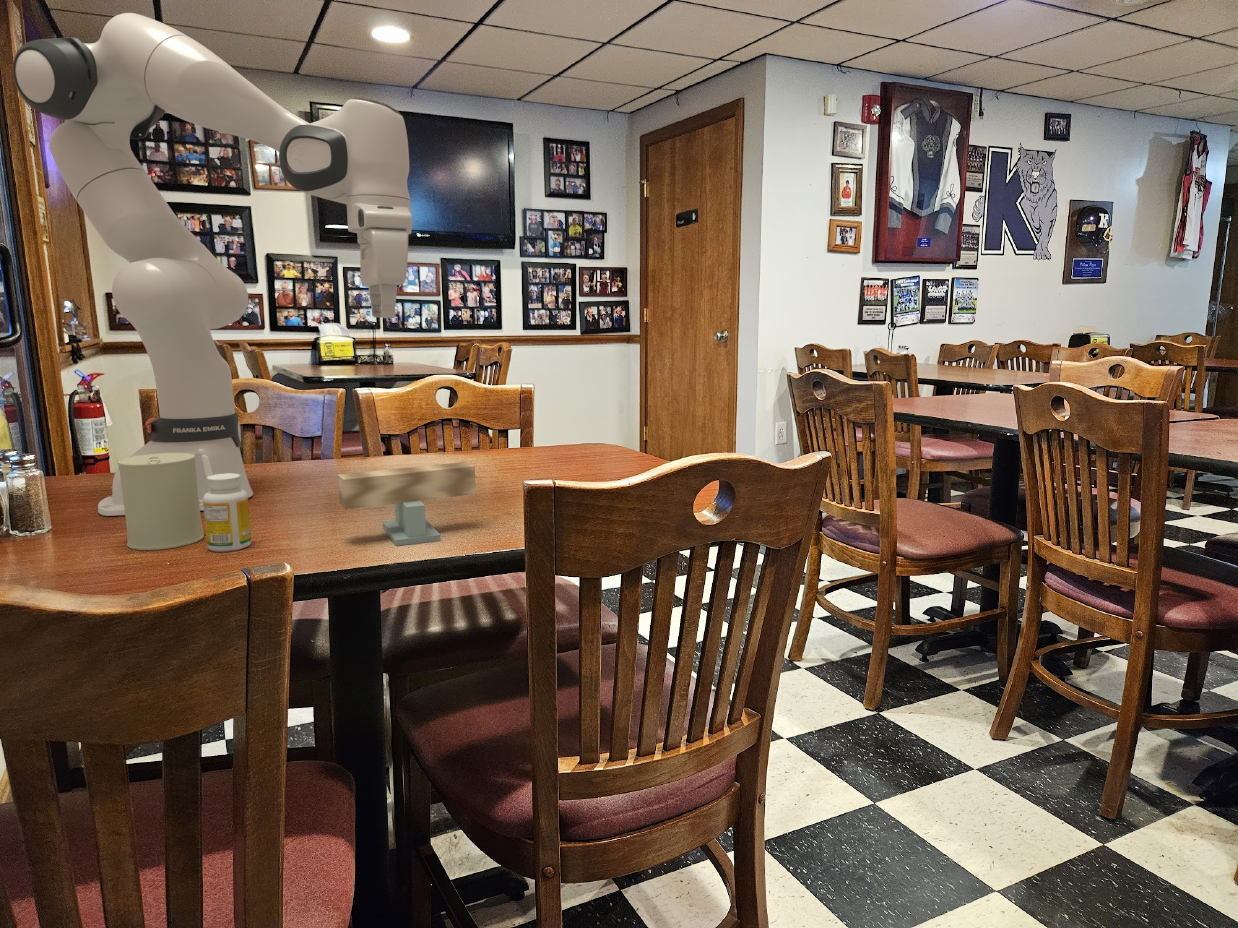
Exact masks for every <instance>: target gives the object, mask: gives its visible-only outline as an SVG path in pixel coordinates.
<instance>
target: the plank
mask: <svg viewBox="0 0 1238 928" xmlns="http://www.w3.org/2000/svg"><path fill="white" fill-rule="evenodd" d="M337 485H338V498H339V504H340V505H341V506H342V507H343V509H344V510H352V509H353V510H354V509H359V508H360V509H361V508H369V507H370V508H371V507H377V506H383V505H384V506H385V505H393V504H394V505H395V503H403V502H412V501H427V500H436V499H443V498H451V497H452V498H453V497H459V496H468V495H476V494H477V489H476V488H477V487H476V485H477V484H476V466H475V465H473V464H471V463H469V462H466V461H462V462H453V463H442V464H433V465H432V464H431V465H424V466H423V465H421V466H413V467H412V466H411V467H402V468H391V469H381V470H370V471H362V472H361V471H360V472H352V473H341V474H340V473H338V474H337Z"/></svg>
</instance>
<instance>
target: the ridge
mask: <svg viewBox="0 0 1238 928" xmlns="http://www.w3.org/2000/svg"><path fill="white" fill-rule="evenodd" d="M394 513H395V514H394V516H395V517H394V518H395V519H391V520H383V521H382V528H383V530H384V531H385V533H386V534H387V535H388V537H389V538H390V540H391V541H392V543H393V544H394V546H395V547H399V546H406V545H407V546H408V545H413V544H416V545H417V544H421V543H422V544H423V543H432V542H440V541H441V534H440V533H439V532H438V530H437V529H435V527H434V526H433V525H432V524H431V522H429V520H427V518H426V507H425V504H424V503H423V502H422V500H420V501H412V502H403V503H395V504H394Z"/></svg>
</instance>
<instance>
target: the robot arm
mask: <svg viewBox="0 0 1238 928" xmlns="http://www.w3.org/2000/svg"><path fill="white" fill-rule="evenodd" d="M12 75H13V80H14V83H15V87H16V89H17V91H18V93H19V94H20V97H21V98H22V99H23V101H24V102H25V104H27V106H29V107H30V108H32V109H33V110H35V111H36V112H38V113H40V114H43V115H45V116H48V117H51V118H53V119H57V120H62V121H64V122H63V123H61V124H60V125H58V126H57V127H56V128H55V129H54V130H53V132H52V133H51V136H50V138H49V151H50V153H51V155H52V156H51V157H52V158H53V161H54V163H55V166H56V167H57V170H58V172H59V174H60V175H61V178H62V179H63V181H64V183H65V184H66V187H68V190H69V191H70V193H71V195H72V196H73V198H74V199H75V201H76V202H77V204H78V205H79V207H80V208H81V210H82V211H83V212H84V214H85V215H86V217H87V219H88V220H89V221H90V223H91V224H92V226H93V228H94V229H95V230H96V231H97V233H98V235H99V237H100V238H101V239H102V240H103V242H104V243H105V245H106V246H107V247H108V248H109V249H110V250H111V251H113V252H114V253H115V254H117V255H118V256H120V257H121V258H123V259H124V260H125V261H127V262H129V263H127V264H125V265H124V266H122V267H121V268H120V269H119V271H117V273H116V274H115V276H114V279H113V281H112V286H111V287H112V288H111V295H112V298H113V299H112V300H113V302H114V305H115V307H116V309H117V310H118V312H119V313H120V315H121V316H122V317H124V319H126V320H127V321H128V322H129V323H130V324H131V325H132V326H133V327H134V329H135V330H136V332H137V334H138V336H139V337H140V339H141V342H142V344H143V345H144V346H143V347H144V348H145V350H146V353H147V355H148V358H149V360H150V365H151V366H152V367H151V368H152V370H153V375H154V382H155V386H156V387H155V388H156V396H157V403H158V411H159V416H158V417H150V418H147V420H146V422H145V429H146V436H147V440H149V441H148V442H147V443H145V444H144V445H143V446H142V447H140V448H139V449H138V450H137V451H135V453H133V454H132V455H130V457H133V456H139V455H147V454H158V453H190V454H194V455H195V466H196V477H197V488H198V497H199V507H200V512H201V511H204V506H203V497H204V495H205V494H206V493H207V492H209V491H210V489H209V488H208V486H207V477H209V476H212V475H217V474H226V473H234V474H239V475H240V476H241V485H240V486H239V489H242V490H244V491H245V492H246V493H247V495H248V499H249V498H251V497H253V495H254V492H253V490H252V487H251V484H250V482H249V479H248V476H247V474H246V470H245V466H244V461H243V458H242V454H241V448H240V446H241V445H242V444H241V443H242V435H241V434H242V432H241V422H240V419H239V415H238V413H237V412H236V410H235V399H234V398H235V397H234V389H233V387H234V386H233V380H232V378H233V377H232V371H231V370H232V369H231V367H230V365H229V363H228V361H226V359H224V358H223V356H222V355H221V354H220V352H219V350H218V348H217V346H216V344H215V341H214V339H213V336H212V332H211V330H215V329H221V328H223V327H225V326H229V325H231V324H233V323H234V322H236V321H238V320H239V319H241V317H242V316H243V315H244V314H245V312H246V311H247V308H248V305H249V293H248V290H247V289H248V288H247V286H246V285H245V283H244V281H243V280H242V279H241V277H240V276H239V275H238V274H237V273H235V272H233V271H232V270H230V269H228V268H227V267H226V266H225V265H224V264H222V263H221V262H220V261H219V260H218V259H217V258H216V256H214V255H213V254H212V252H211V251H210V250H209V249H208V248H207V247H206V246H205V245H204V244H203V243H202V242H201V240H199V239H198V237H196V236H195V235H194V234H193V233H192V232H191V231H190V230H189V229H188V228H187V227H186V226H185V224H184V223H183V222H182V221H181V220H180V219H179V217H178V216H177V215H176V214H175V213H174V211H173V209H172V208H171V207H170V205H169V204H168V202H167V201H166V200H165V198H164V197H163V195H162V194H161V192H160V191H159V189H158V188H157V186H156V185H155V184H154V181H152V179H151V178H150V176H149V175H148V173H147V171H146V170H145V169H144V167H143V166H142V164H141V163H140V162H139V160H138V158H137V157H136V156H135V154H134V152H133V151H132V148H131V144H130V140H142V139H144V138H145V137H147V135H149V132H150V129H151V128H153V127H154V126H155V125H157V124H158V123H159V122H160V120H162V118H164V117H163V116H164V115H165V113H166V112H167V113H168V114H171V115H172V116H174V117H176V118H179V119H180V120H183V121H186V122H188V123H191V124H193V125H197V126H200V127H202V128H205V129H209V130H213V131H216V132H220V133H223V134H228V135H232V136H234V137H235V136H236V137H239V138H242V139H247V140H250V141H253V142H257V143H259V144H261V145H264V146H267V147H269V148H271V149H272V150H275V151H276V152H278V163H279V167H280V171H281V173H282V175H283V177H284V179H285V180H286V182H287V183H288V184H289V185H290V186H291V187H293V188H294V189H296V190H297V191H300V192H302V193H305V194H306V195H310V196H314V197H317V198H321V199H325V200H329V201H333V202H337V203H339V204H342V205H344V206H346V214H347V215H346V216H347V231H348V232H349V233H354V234H357V235H356V236H357V237H356V238H357V244H359V245H360V248H359V251H360V252H359V253H360V254H359V261H360V265H359V266H360V267H359V268H360V283H361V285H362V287H365V288H366V287H368V296H369V300H370V301H369V302H370V307H371V317H373V318H382V319H394V318H395V317H396V302H397V294H398V287H397V286H399V285H401V286H402V285H404V284H405V282H406V280H407V272H408V261H409V257H408V255H409V252H408V251H409V235H411V234H412V229H413V215H412V212H411V211H412V209H411V195H410V192H409V189H408V176H409V174H410V154H409V140H408V134H407V132H408V131H407V128H406V123H405V119H404V117H403V115H402V114H401V113H400V111H398V110H397V109H396V108H394V107H392V106H391V105H388V104H386V103H385V102H379V101H378V100H374V99H369V98H364V97H355V98H350V99H348V100H346V102H344V104H343V105H342V107H341V108H340V109H338V110H337V111H335V112H334V113H331V114H330V115H329V116H326V117H324V118H322V119H319V120H317V121H314V122H309V121H307V120H305V119H304V118H302V117H300V116H298V115H297V114H295V113H293V112H292V111H290V110H289V109H287V108H285V107H283V106H282V105H281V104H279V103H277V102H276V101H275V100H273V98H271V97H270V96H269V95H267V94H266V93H265V92H263V91H262V90H261V89H259V88H258V87H256V85H254V84H253V83H251V81H249V79H246V77H244V76H243V75H242V74H241V73H239V72H238V71H237V70H236V69H234V68H233V67H232V66H231V65H230V64H228V63H227V61H225V60H223V59H222V58H221V57H220V56H218V55H217V54H215V53H214V52H213V51H211V50H210V49H209V48H207V47H206V46H205V45H203V44H201V43H200V42H199V41H197V40H196V39H193V38H192V37H190V36H188V35H186V34H185V33H183V32H181V31H179V30H178V29H176V28H174V27H171V26H170V25H168V24H166V23H163V22H161V21H158V20H156V19H154V18H151V17H148V16H146V15H142V14H138V13H134V12H123V13H120V14H117V15H114V16H113V17H111V18H110V19H109V21H107V22H106V24H105V25H104V27H103V29H102V32H101V34H100V38H99V39H98V40H97V41H96V42H93V43H88V42H87V43H85V42H82V41H81V40H80V39H79V38H77V37H75V36H70V37H69V36H68V37H58V38H56V37H54V38H41V39H35V40H30V41H27V42H26V43H23V44H22V45H21V46H20V47H19V49H18V50H17V51H16V53H15V56H14V59H13V64H12ZM139 134H140V135H139ZM111 486H112V488H111V489H112V492H111V494H112V495H109V496H107V497H104V498H103V499H101V500H100V501H99V502H98V504H97V512H98V514H99V515H101V516H106V517H110V516H111V517H112V516H125V509H124V501H123V493H122V486H121V479H120V472H119V466H118V468H117V469H116V470H115V472H114V476H113V480H112V485H111Z"/></svg>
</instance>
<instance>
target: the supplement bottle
mask: <svg viewBox="0 0 1238 928" xmlns="http://www.w3.org/2000/svg"><path fill="white" fill-rule="evenodd" d="M240 485H241V476H240V475H239V474H234V473H226V474H217V475H212V476H209V477H207V486H208V488H209V489H210V491H209V492H207V493H206V494H205V495H204V497H203V506H204V510H203V514H204V515H203V516H204V526H205V527H204V528H205V537H206V546H207V549H208V550H209V551H212V552H216V553H217V552H218V553H221V552H222V553H226V552H227V553H228V552H233V551H238V550H243V549H245V548H247V547H249V546H250V545H251V544H252V532H251V521H250V520H251V519H250V507H249V498H248V495H247V493H246V492H245V491H244V490H242V489H239V486H240Z"/></svg>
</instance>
